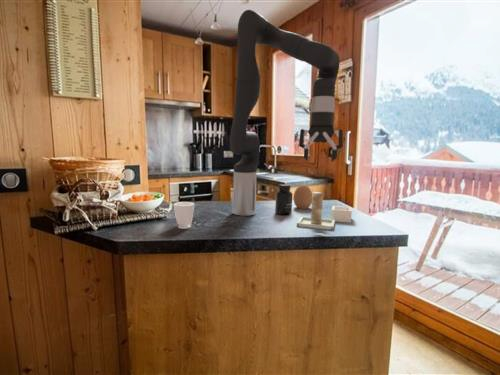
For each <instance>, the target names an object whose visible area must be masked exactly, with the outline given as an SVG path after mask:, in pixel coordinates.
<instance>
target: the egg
mask: <svg viewBox="0 0 500 375" xmlns="http://www.w3.org/2000/svg"><path fill="white" fill-rule="evenodd" d="M312 193H313V192H312V190H311V188H310V187H309V186H308V185H307V184H304V183H303V184H302V183H301V184H300V185H298V186H297V188H296V189H295V191H294V193H293V198H292V201H293V204H294V205H295V207H296V208H297V209H300V210H307V209H309V208H310V207H311V206H312Z"/></svg>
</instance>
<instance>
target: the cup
mask: <svg viewBox="0 0 500 375" xmlns="http://www.w3.org/2000/svg"><path fill="white" fill-rule="evenodd" d="M172 206H173V209H174V215H175V220H176V224H177V225H178V226H177V228H178V229H183V230H185V229H190V228H191V227H192V222H193V218H194V212H195V211H194V210H195V206H196V205H195V202H192V201H191V202H190V201H180V202H179V201H178V202H175V203H173V205H172Z"/></svg>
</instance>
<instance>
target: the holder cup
mask: <svg viewBox="0 0 500 375" xmlns="http://www.w3.org/2000/svg"><path fill="white" fill-rule="evenodd" d="M330 211H331V212H330V214H331V215H330V219H335V222H339V223H340V222H343V223H352V211H353V210H352V207H350V206H337V205H332V206H331V210H330Z"/></svg>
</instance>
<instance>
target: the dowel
mask: <svg viewBox="0 0 500 375" xmlns="http://www.w3.org/2000/svg"><path fill="white" fill-rule="evenodd" d="M323 198H324V193H323V192H319V191H313V192H312V203H311V214H310V217H311V224H318V225H321V223H322V218H323V201H324V199H323Z"/></svg>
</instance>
